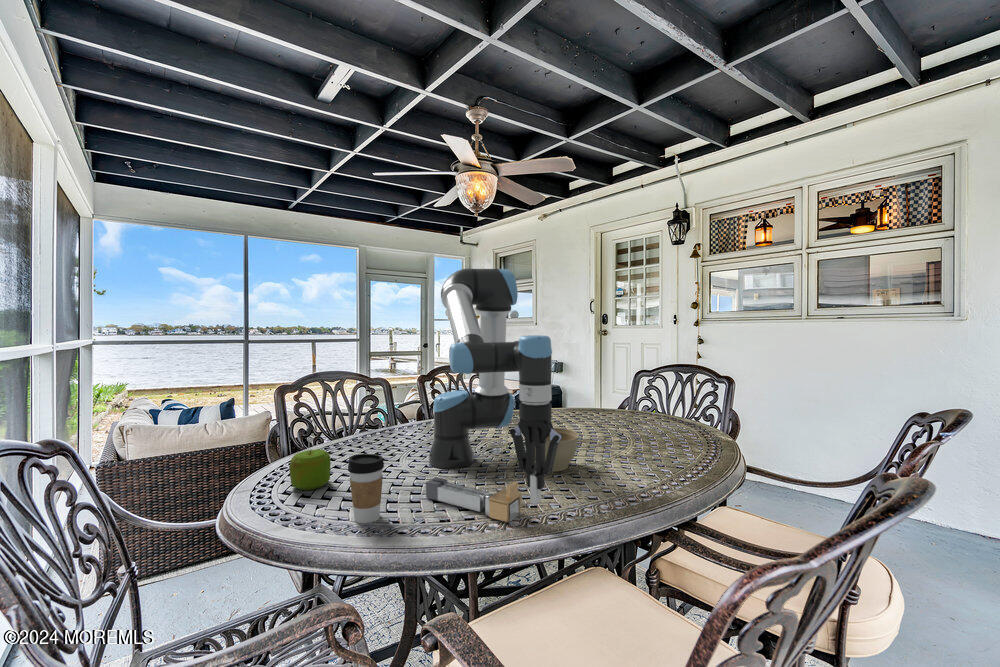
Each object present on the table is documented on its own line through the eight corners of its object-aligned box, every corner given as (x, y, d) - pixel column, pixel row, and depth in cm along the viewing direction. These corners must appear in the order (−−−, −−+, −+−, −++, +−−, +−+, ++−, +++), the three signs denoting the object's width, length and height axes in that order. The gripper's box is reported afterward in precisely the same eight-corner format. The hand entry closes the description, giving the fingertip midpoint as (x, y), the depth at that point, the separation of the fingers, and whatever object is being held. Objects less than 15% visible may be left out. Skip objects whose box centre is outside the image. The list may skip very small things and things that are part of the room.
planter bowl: (521, 472, 139) (521, 437, 138) (536, 457, 153) (536, 425, 153) (572, 478, 132) (572, 442, 132) (583, 462, 147) (583, 430, 147)
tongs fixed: (518, 514, 109) (518, 496, 109) (510, 521, 105) (509, 502, 105) (436, 493, 122) (436, 477, 122) (426, 498, 119) (425, 482, 118)
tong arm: (489, 505, 113) (489, 489, 113) (485, 508, 112) (485, 491, 111) (435, 492, 122) (435, 477, 122) (431, 494, 121) (431, 479, 120)
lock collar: (521, 511, 110) (520, 480, 109) (507, 522, 104) (507, 489, 104) (503, 506, 112) (503, 476, 112) (489, 517, 107) (489, 485, 106)
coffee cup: (353, 511, 111) (352, 452, 111) (387, 509, 112) (386, 451, 112) (344, 526, 103) (343, 463, 103) (381, 525, 104) (380, 462, 103)
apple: (322, 476, 136) (321, 441, 136) (337, 485, 128) (337, 448, 128) (284, 486, 128) (283, 449, 128) (298, 497, 121) (297, 457, 120)
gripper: (502, 401, 103) (503, 501, 104) (554, 407, 96) (554, 513, 97) (518, 396, 109) (519, 490, 110) (567, 401, 103) (567, 501, 104)
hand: (535, 501), depth 104 cm, fingers closed
